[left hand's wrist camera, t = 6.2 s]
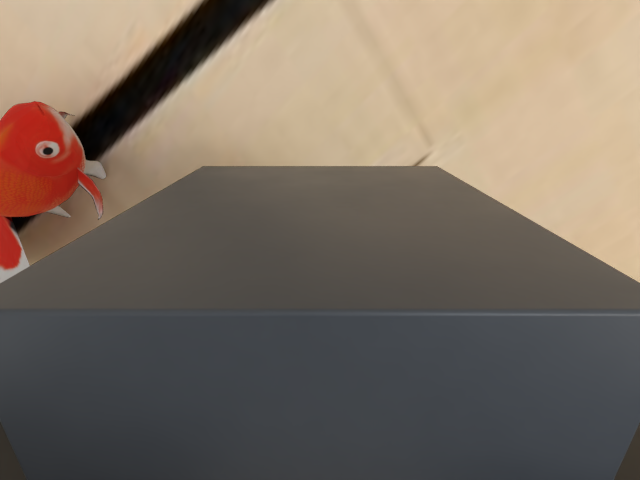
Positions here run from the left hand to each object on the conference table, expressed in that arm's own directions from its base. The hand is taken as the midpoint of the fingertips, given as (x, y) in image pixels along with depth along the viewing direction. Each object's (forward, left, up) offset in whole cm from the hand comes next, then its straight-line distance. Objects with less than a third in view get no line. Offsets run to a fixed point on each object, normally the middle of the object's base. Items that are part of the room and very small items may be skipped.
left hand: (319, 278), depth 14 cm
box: (+7, 0, 0) cm, 7 cm away
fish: (0, -19, -12) cm, 22 cm away
